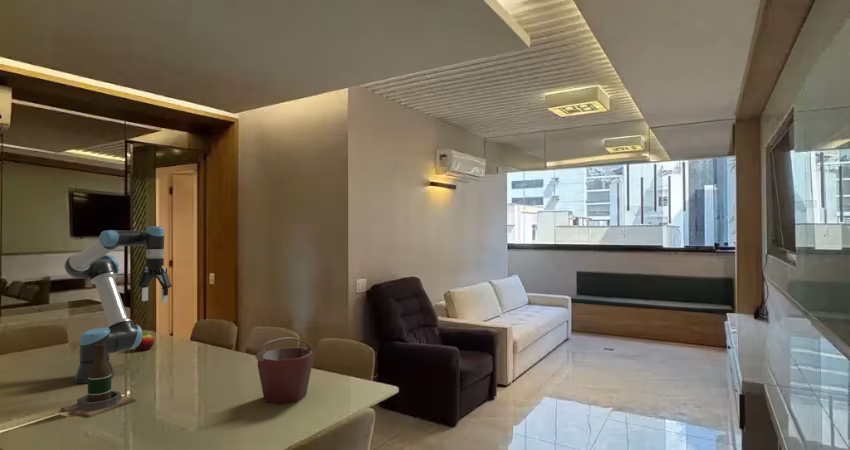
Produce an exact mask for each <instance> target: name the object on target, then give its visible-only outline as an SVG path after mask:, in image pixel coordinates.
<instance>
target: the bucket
mask: <svg viewBox="0 0 850 450" xmlns="http://www.w3.org/2000/svg"><path fill="white" fill-rule="evenodd" d="M287 340H294V341H298V342H301V343H304V345H305V346H306V347H307V348H305V347H300V346H299V347H277V348H274V349H269V350H268V349H267V347H268V346H270V345H272V344H274V343H277V342H280V341H287ZM312 350H313V346H312V345H311V344H310V343H309V342H308V341H304V340H302V339H300V338H296V337H293V336H286V337H278V338H275V339H271V340H267V341H266V342H263V343H262V345H261V347H260V350H259V351H258V352H257V353H256V354H255V355H254V356H255V359H256V360H257V369H258V376H259V379H260V386H261V390H262V394H263V400H264V403H266V404H271V405H277V406H281V405H282V406H283V405H287V404H294V403H298V402H299V401H301V400H302V399H304V398H305V397H306V396H307V394H308V393H307V392H308V387H309V381H310V379H311V378H310V376H311V371H312V368H313V362H314V351H312Z"/></svg>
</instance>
